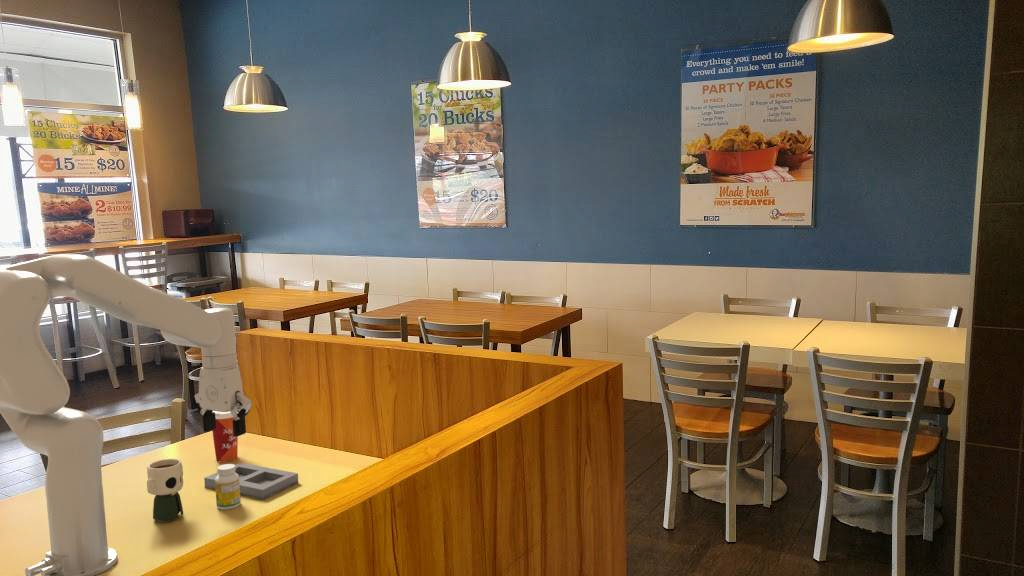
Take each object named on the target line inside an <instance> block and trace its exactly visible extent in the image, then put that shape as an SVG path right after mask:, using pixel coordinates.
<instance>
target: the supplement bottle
mask: <svg viewBox="0 0 1024 576" xmlns="http://www.w3.org/2000/svg"><path fill="white" fill-rule="evenodd" d="M235 465H236V464H234V463H225V464H221V465H219V466H217V468H216V469H217V470H216V473H218V474H219V475H218V476H217V477H216V478H215V489H216V490H215V489H214V490H215V501H216V502H215V504H216V508H217V509H218V510H221V511H224V510H225V511H226V510H227V511H228V510H233V509H235V508H238V507H239V506H240V505H241V502H242V501H241V495H240V485H239V475H238V474H237V473H235V471H236V468H235Z"/></svg>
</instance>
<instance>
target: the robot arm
mask: <svg viewBox="0 0 1024 576" xmlns="http://www.w3.org/2000/svg"><path fill="white" fill-rule="evenodd" d="M58 297H66V298H67V297H68V298H72V299H74V300H77V301H79V302H81V303H83V304H86V305H88V306H90V307H92V308H95V309H97V310H100V311H101V312H104V313H106V314H108V315H109V316H112V317H114V318H116V319H118V320H121V321H123V322H126V323H129V324H133V325H137V326H143V327H147V328H151V329H152V328H153V329H157V330H159V331H160V334H161V336H162V339H164V340H165V341H166V342H168V343H170V344H172V345H175V346H176V345H177V346H178V345H179V346H182V347H193V348H198V349H199V348H200V349H201V361H202V363H201V364H202V367H200V371H199V375H198V376H199V377H198V380H199V381H198V393H196V394H194V400H195V401H196V403H197V404H196V405H197V408H198V409H199V411H200V413H199V414H200V415H201V416H202V425H203V427H202V428H203V432H205V433H207V432H210V431H212V430H213V429H215V428H216V417H215V412H213V411H218V412H229V411H230V412H231V414H232V416H233V417H234V419H235V420H233V435H234V437H241V436H242V435H245V434H247V433H246V432H247V429H246V427H247V425H246V418H247V416H248V414H249V412H250V410H251V406H252V400H251V399H249V398H248V397H247V396H245V395H244V391H243V389H244V387H243V381H242V376H241V372H240V368H239V366H238V353H237V343H236V342H237V341H236V338H237V337H236V325H235V314H234V311H233V310H232V309H230V308H227V307H214V308H213V307H212V308H207V309H203V308H201V307H199V306H197V305H196V304H193V303H192V302H189V301H186V300H184V299H182V298H180V297H177V296H174V295H172V294H170V293H169V294H168V293H166V292H165V291H162V290H159V289H158V288H156V287H155V288H154V287H152V286H149V285H147V284H144V283H143V282H141V281H139V280H137V279H135V278H132V277H131V276H129V275H126V274H125V273H123V272H121V271H119V270H117V269H115V268H113V267H112V266H110V265H107V264H106V263H103V262H102V261H100V260H97V259H96V258H93V257H91V256H87V255H85V254H71V253H70V254H67V253H66V254H65V253H63V254H62V253H60V254H53V255H48V256H44V257H40V258H37V259H32V260H29V261H24V262H20V263H16V264H11V265H7V266H1V267H0V415H1V416H2V418H3V419H4V420H5V422H6V424H7V425H8V427H9V428H10V430H11V431H12V432H13V434H14V435H15V437H16V438H17V439H18V441H19V442H21V444H22V445H23V446H24V447H26V449H28V450H30V451H32V452H35V453H37V454H41V455H45V456H46V457H47V458H48V459H47V466H46V467H47V468H46V472H45V476H44V477H45V478H44V490H45V491H44V492H45V498H46V507H47V509H46V510H47V519H48V529H49V541H50V551H47V552H45V558H43V559H42V560H41V562H39V563H38V562H37V563H35V564H33V565H30V566H27V567H26V568H25V570H24V574H25V576H38V575H41V576H97V575H100V574H101V573H103V572H105V571H107V570H109V569H111V567H113V566H114V565H115V564H116V563H117V561H118V552H117V551H116V550H115V549H113V548H111V547H108V545H109V544H108V536H107V532H108V531H107V522H106V510H105V499H104V487H103V476H102V474H103V473H102V456H103V448H104V440H105V439H104V430H103V427H102V425H101V423H100V422H99V421H98V419H97V418H96V417H94V416H93V415H92V414H90V413H88V412H86V411H82V410H79V409H74V408H71V407H65V405H66V404H67V403H68V401H69V398H70V396H71V395H70V393H71V392H70V391H71V390H70V389H71V388H70V385H69V383H68V380H67V377H66V376H65V375H64V373H63V372H62V371H61V368H60V367H59V366H58V364H57V363H56V361H55V360H54V358H53V356H52V355H51V353H50V352H49V351H48V349H47V346H46V345H45V343H44V342H43V338H42V337H41V334H40V323H41V319H42V317H43V315H44V313H45V311H46V310H47V307H48V305H49V302H50V300H51V299H55V298H58ZM236 410H237V412H238V413H237V412H236Z"/></svg>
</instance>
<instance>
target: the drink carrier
mask: <svg viewBox="0 0 1024 576" xmlns="http://www.w3.org/2000/svg"><path fill="white" fill-rule="evenodd" d="M234 465H235V468H236V471H235V473H237V474H238V475H239V485H240V496H244V497H248V498H253V499H256V500H257V499H258V500H266V499H268V498H270V497H273V496H274V495H277V494H278V493H281V492H282V491H285V490H288V489H289V488H290V487H291V488H292V486H295V485H297V484H299V473H298V472H292V471H287V470H282V469H276V468H271V467H266V466H260V465H255V464H250V463H244V462H239V463H237V464H234ZM218 475H219V474H218V473H217V472H215V473H212V474H210V475H207V476H205V477H204V478H203V480H204V488H206V489H211V490H215V491H216V489H215V478H216V477H217V476H218Z"/></svg>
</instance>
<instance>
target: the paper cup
mask: <svg viewBox="0 0 1024 576" xmlns="http://www.w3.org/2000/svg"><path fill="white" fill-rule="evenodd" d="M213 412H215V417H216V428H215V429H213V430H211V431H212V437H213V444H214V446H213V447H214V453H215V459H216V461H217V462H218V461H220V462H219V463H225V462H224V461H229V462H231V461H230V460H233V461H235V460H237V459H238V449H239V448H238V445H239V443H238V442H239V441H238V437H239V436H238V437H234V435H233V420H235V419H234V417H233V416H232V414H231V412H230V411H229V412H218V411H213ZM236 412H237V413H239V411H238V410H236ZM236 458H237V459H236ZM234 459H235V460H234Z"/></svg>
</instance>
